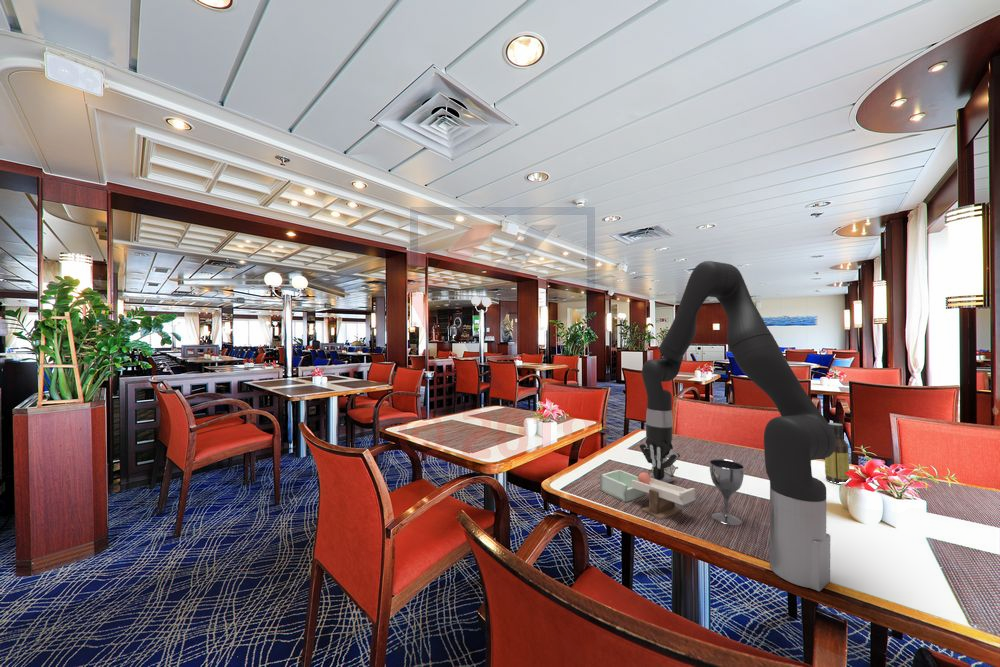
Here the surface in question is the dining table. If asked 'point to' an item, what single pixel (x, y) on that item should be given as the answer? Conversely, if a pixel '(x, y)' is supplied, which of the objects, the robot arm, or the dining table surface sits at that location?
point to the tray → (620, 485)
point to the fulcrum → (660, 506)
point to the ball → (644, 478)
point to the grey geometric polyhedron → (668, 471)
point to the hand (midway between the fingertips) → (658, 478)
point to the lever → (668, 491)
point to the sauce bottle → (838, 457)
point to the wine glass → (726, 485)
